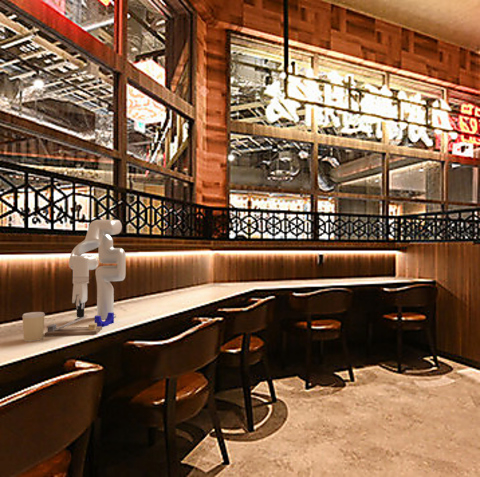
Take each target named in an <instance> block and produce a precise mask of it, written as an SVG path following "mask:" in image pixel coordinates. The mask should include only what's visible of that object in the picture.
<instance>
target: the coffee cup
mask: <svg viewBox="0 0 480 477" xmlns="http://www.w3.org/2000/svg"><path fill="white" fill-rule="evenodd" d="M21 317H22V329H23V341H25V342H35V341H40V339H41V340H42V339H43V338H44V330H45V329H44V328H45V317H46V314H45V312H43V311H31V312H25V313H23V314H22V316H21Z"/></svg>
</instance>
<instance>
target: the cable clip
mask: <svg viewBox="0 0 480 477" xmlns="http://www.w3.org/2000/svg"><path fill="white" fill-rule="evenodd" d="M114 314H115V312H114V313H110V312H109V313H108V316H107V318H106V319H104V321H103V319H101V316H94V317H95V318H94V321H93V323H97V326H102V328H104V327H107V326H110V325H111V324H112V325H113V324H114V323H115V317H114Z"/></svg>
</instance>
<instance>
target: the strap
mask: <svg viewBox="0 0 480 477" xmlns="http://www.w3.org/2000/svg"><path fill="white" fill-rule="evenodd" d="M86 318H88V315H87V314H86V315H84V317H76V318H75V319H74V320H71V321H69V322H67V323H65V324H63V325H60V326H58V327H57V328H56V329H55V331H57V330H59V329H61V328H65V327H69V326H71V325H73V324H75V323H77V322H80V321H82V320H85V319H86Z"/></svg>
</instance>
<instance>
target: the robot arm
mask: <svg viewBox="0 0 480 477" xmlns="http://www.w3.org/2000/svg"><path fill="white" fill-rule="evenodd" d="M122 225H123V224H122V222H121V220H119V219H96V220H93V221H91V222H90V224H89V226H88V229H87V232H86V236H85V237H84V238H85V239H84V240H83V241H81V242H79V243H78V244H77V245H75V247H74V248H73V250H72V251H71V254H70V257H69V259H68V266H69V269H71V270H72V284H73V286H72V299H71V303H72V304H75V306H76V318H79V317H84V316H85V303H86V302H87V301H88V284H90V281H89V280H90V271H93V270H95V279H96V290H97V291H96V300H97V301H96V307H97V308H96V312H97V313H96V314H95V316H101V319H102V320H106V318H107V316H108V313H109V312H110V313H114V318H116V317H117V314H116V313H115V312H114V310H115V308H114V307H115V305H114V302H115V301H114V299H115V298H114V297H115V295H114V294H115V292H114V291H115V289H114V286H113V285H112V283H111V282H123V281H124V280H125V279H126V275H127V274H126V268H127V267H126V266H127V265H126V262H127V261H126V260H127V258H126V252H125V250H124V249H123V248H122V247H114V239H113V237H112V236H113V235H115V236H116V235H119V234H120V233H121V232H122V229H123V226H122ZM97 248H98V252H97V253H98V254H97V255H98V257H97V256H94V255H83V254H85V253H87V252H90V251H93V250H95V249H97ZM99 263H101V264H116V265H101V266H99ZM95 316H94V317H93V318H94V319H95Z"/></svg>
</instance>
